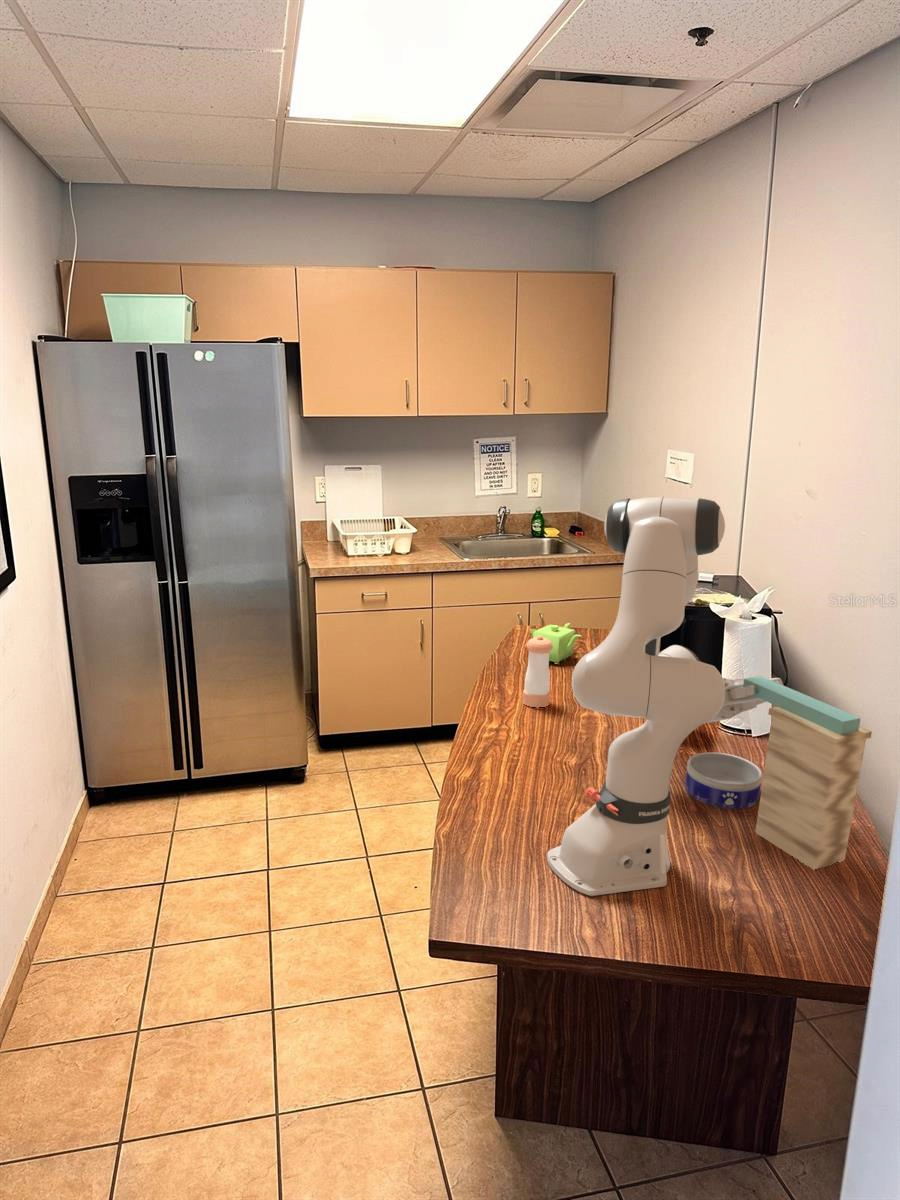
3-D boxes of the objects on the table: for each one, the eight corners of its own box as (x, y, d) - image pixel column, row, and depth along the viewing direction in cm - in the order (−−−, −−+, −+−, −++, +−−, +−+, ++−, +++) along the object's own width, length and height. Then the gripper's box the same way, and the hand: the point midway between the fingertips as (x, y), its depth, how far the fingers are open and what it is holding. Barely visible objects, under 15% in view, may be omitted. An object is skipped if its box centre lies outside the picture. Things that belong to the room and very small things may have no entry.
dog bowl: (747, 778, 183) (751, 753, 182) (768, 812, 168) (771, 786, 167) (678, 774, 184) (681, 749, 183) (692, 807, 169) (695, 781, 168)
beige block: (814, 872, 147) (836, 739, 141) (751, 831, 160) (769, 708, 154) (848, 861, 151) (871, 731, 145) (784, 823, 164) (803, 701, 158)
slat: (840, 735, 143) (843, 721, 142) (742, 690, 163) (744, 678, 162) (858, 731, 145) (860, 718, 144) (759, 687, 165) (760, 676, 164)
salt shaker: (518, 705, 220) (522, 637, 216) (527, 696, 227) (531, 630, 222) (544, 710, 218) (549, 641, 213) (552, 701, 224) (557, 634, 219)
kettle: (567, 651, 268) (570, 618, 265) (582, 666, 254) (585, 631, 251) (523, 653, 265) (525, 619, 262) (536, 667, 251) (539, 632, 248)
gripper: (676, 690, 168) (722, 677, 156) (750, 678, 177) (798, 665, 165) (683, 721, 167) (730, 710, 155) (757, 707, 176) (807, 696, 164)
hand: (766, 687), depth 160 cm, fingers closed on slat, 4 cm apart
